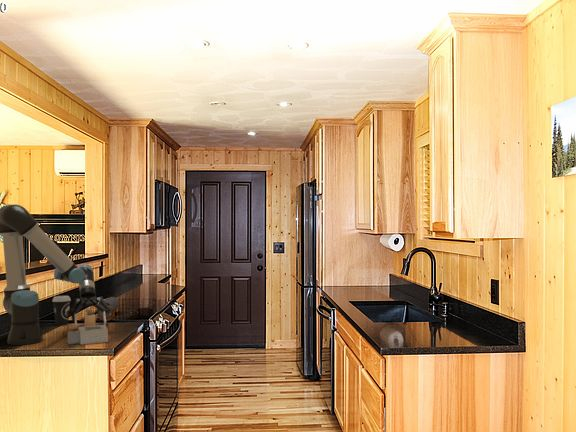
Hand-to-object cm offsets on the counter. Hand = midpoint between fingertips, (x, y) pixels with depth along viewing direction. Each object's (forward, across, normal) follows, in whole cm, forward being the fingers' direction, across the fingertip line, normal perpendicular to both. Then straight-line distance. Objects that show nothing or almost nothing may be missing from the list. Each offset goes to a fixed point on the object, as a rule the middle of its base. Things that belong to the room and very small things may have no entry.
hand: (90, 325), depth 273 cm
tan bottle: (+2, 0, -5) cm, 6 cm away
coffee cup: (-25, +11, -33) cm, 43 cm away
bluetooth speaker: (-36, -16, -44) cm, 59 cm away
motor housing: (+12, +3, +5) cm, 13 cm away
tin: (-26, -12, -34) cm, 44 cm away
